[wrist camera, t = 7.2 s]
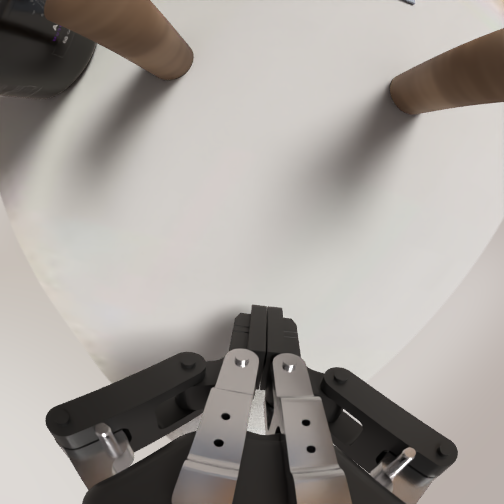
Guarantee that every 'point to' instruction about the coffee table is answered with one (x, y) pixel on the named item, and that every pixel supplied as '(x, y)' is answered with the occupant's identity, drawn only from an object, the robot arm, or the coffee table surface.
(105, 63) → the coffee table surface
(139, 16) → the post
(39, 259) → the coffee table surface
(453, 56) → the post
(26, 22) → the supplement bottle
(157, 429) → the robot arm
